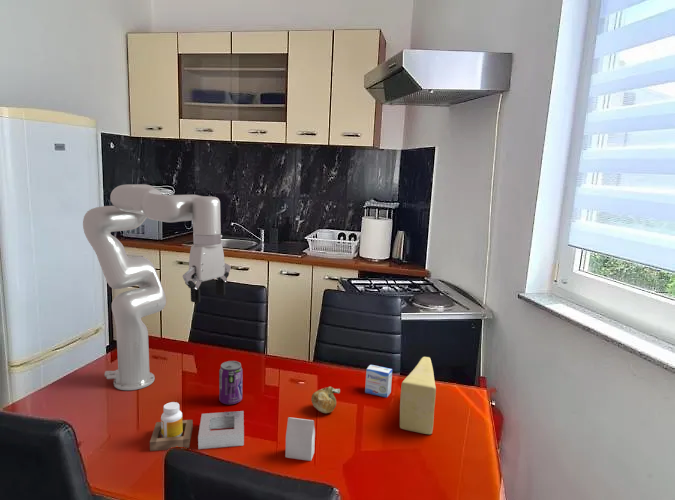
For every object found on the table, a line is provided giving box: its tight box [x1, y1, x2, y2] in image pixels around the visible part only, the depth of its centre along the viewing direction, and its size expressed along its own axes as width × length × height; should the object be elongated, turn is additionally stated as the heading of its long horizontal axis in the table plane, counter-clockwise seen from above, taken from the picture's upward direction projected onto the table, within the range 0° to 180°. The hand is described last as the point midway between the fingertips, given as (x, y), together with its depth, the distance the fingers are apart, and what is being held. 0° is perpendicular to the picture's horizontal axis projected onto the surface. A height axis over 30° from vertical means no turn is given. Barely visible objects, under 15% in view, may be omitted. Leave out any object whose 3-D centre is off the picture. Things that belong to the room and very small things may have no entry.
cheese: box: [399, 356, 437, 435], centre depth 140 cm, size 22×10×15 cm, turn 162°
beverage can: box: [218, 360, 244, 406], centre depth 144 cm, size 7×7×12 cm
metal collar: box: [197, 410, 245, 450], centre depth 126 cm, size 12×12×4 cm
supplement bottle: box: [160, 401, 184, 438], centre depth 123 cm, size 5×5×10 cm
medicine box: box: [364, 364, 393, 399], centre depth 153 cm, size 8×4×9 cm, turn 68°
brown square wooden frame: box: [149, 419, 194, 452], centre depth 123 cm, size 10×10×2 cm
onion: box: [311, 386, 341, 414], centre depth 141 cm, size 8×8×8 cm
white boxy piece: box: [284, 416, 316, 462], centre depth 118 cm, size 4×7×10 cm, turn 81°
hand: (208, 298), depth 134 cm, fingers open, 9 cm apart
